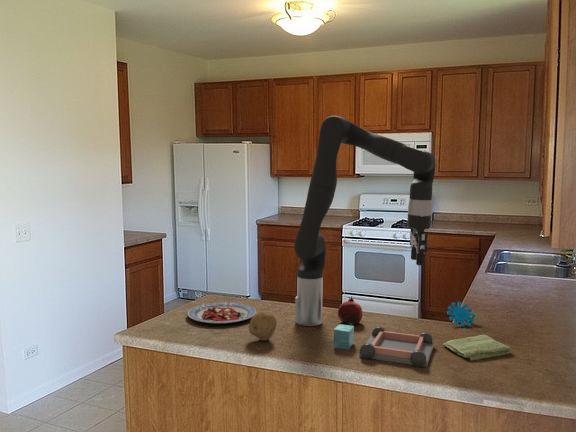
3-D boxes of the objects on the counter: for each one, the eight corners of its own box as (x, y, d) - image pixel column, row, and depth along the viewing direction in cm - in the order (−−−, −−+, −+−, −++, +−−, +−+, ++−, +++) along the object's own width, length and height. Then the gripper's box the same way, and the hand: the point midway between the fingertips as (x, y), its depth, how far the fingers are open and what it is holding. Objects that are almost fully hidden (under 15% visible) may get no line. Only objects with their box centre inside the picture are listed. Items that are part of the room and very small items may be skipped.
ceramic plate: (175, 324, 188) (175, 316, 187) (203, 305, 213) (203, 298, 212) (243, 330, 182) (243, 322, 181) (264, 310, 207) (264, 303, 206)
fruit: (350, 329, 184) (351, 301, 182) (332, 322, 191) (332, 296, 190) (368, 324, 189) (368, 297, 188) (349, 317, 197) (349, 292, 195)
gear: (449, 323, 186) (447, 298, 192) (444, 330, 190) (441, 306, 196) (480, 327, 186) (476, 303, 192) (473, 334, 190) (470, 310, 197)
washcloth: (440, 347, 167) (440, 338, 167) (485, 341, 173) (486, 332, 172) (466, 363, 155) (467, 352, 154) (514, 356, 160) (515, 346, 160)
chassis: (358, 358, 157) (358, 344, 156) (372, 338, 174) (372, 325, 174) (426, 368, 150) (426, 353, 149) (433, 346, 167) (434, 333, 167)
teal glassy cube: (333, 347, 165) (333, 329, 165) (338, 341, 171) (339, 324, 170) (348, 350, 164) (349, 331, 163) (353, 343, 169) (354, 326, 169)
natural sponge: (251, 346, 166) (251, 316, 165) (246, 337, 174) (246, 308, 173) (279, 344, 168) (279, 314, 167) (272, 335, 177) (272, 306, 176)
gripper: (404, 210, 176) (401, 257, 178) (412, 215, 161) (409, 266, 163) (426, 211, 175) (423, 258, 177) (436, 216, 161) (433, 267, 163)
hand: (416, 262), depth 170 cm, fingers open, 8 cm apart
